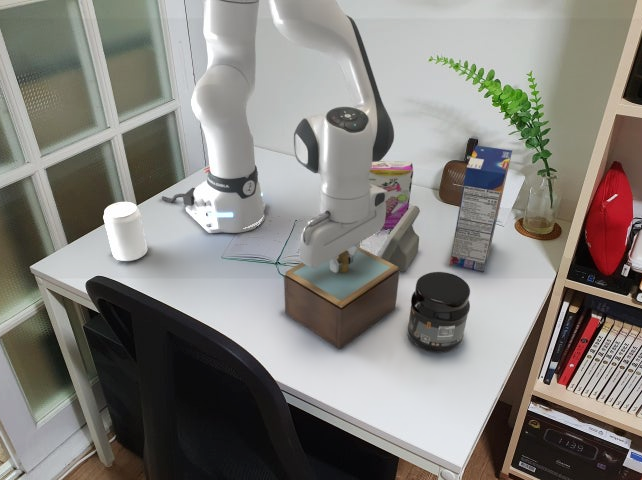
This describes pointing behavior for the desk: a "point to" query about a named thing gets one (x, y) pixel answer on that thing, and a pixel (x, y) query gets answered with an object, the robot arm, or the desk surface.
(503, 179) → the cereal box
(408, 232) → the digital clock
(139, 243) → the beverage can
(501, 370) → the desk surface
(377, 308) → the display box
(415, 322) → the supplement container
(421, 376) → the desk surface
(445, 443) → the desk surface
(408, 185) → the candy bar box
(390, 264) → the knobbed glass lid
